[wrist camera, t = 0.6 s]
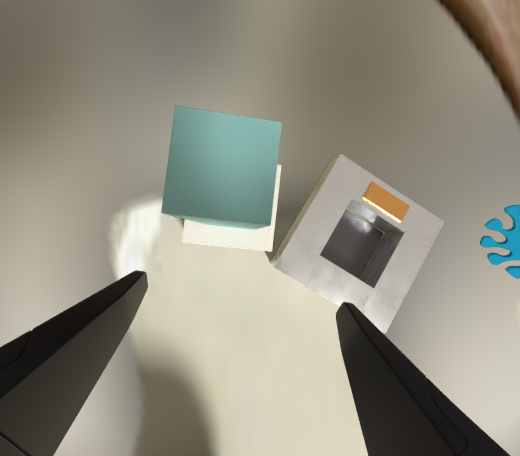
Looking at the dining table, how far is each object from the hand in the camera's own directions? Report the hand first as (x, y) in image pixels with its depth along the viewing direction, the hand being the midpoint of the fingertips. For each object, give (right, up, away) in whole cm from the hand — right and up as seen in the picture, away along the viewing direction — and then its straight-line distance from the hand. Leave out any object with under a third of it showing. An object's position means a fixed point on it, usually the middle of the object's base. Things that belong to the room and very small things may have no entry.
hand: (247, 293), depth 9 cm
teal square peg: (-2, +5, +11) cm, 13 cm away
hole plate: (+11, +1, +15) cm, 19 cm away
